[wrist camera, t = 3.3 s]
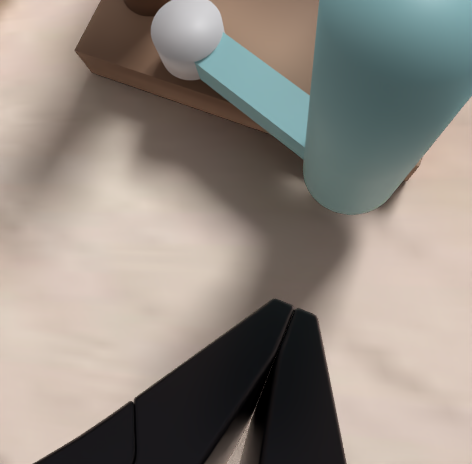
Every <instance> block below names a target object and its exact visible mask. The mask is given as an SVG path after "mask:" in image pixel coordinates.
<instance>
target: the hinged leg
mask: <svg viewBox="0 0 472 464" xmlns="http://www.w3.org/2000/svg"><path fill="white" fill-rule="evenodd" d="M151 38H152V41H153V43H154V46H155V48H156V50H157V52H158V54H159V56H160V58H161V60H162V62H163V64H164V66H165V68H166V69H167V70H168V71H169V72H170V73H171V74H172V75H174V76H175V77H177V78H180V79H183V80H199V79H201V80H202V81H203V82H205V83H206V84H207V85H208V86H210V87H211V88H212V89H214V90H215V91H216V92H217V93H219V94H220V95H221V96H223V97H224V98H225V99H226V100H228V101H229V102H230V103H232V104H233V105H234V106H235V107H237V108H238V109H239V110H241V111H242V112H243V113H244V114H246V115H247V116H248V117H249V118H251V119H252V120H253V121H255V122H256V123H257V124H258V125H260V126H261V127H262V128H264V129H265V130H266V131H267V132H269V133H270V134H271V135H273V136H274V137H275V138H276V139H278V140H279V141H280V142H282V143H283V144H284V145H285V146H287V147H288V148H289V149H290V150H292V151H293V152H294V153H296V154H297V155H298V156H299V157H301V158H302V159H303V160H304V162H303V176H304V181H305V184H306V186H307V189H308V190H309V192H310V194H311V195H312V196H313V198H314V199H315V200H316V201H317V202H318V203H320V204H321V205H322V206H324V207H325V208H327V209H329V210H331V211H334V212H336V213H341V214H347V215H357V214H363V213H367V212H370V211H372V210H374V209H376V208H378V207H380V206H381V205H382V204H384V203H385V202H386V201H387V200H388V199H389V198H390V196H391V195H392V194H393V193H394V191H395V190H396V189H397V188H398V186H399V185H400V184H401V183H402V182H403V180H404V179H405V178H406V177H407V175H408V174H409V173H410V172H411V170H412V169H413V168H414V167H415V165H416V164H417V163H418V162H419V160H420V159H421V158H422V157H423V155H424V154H425V153H426V152H427V151H428V149H429V148H430V147H431V146H432V144H433V143H434V142H435V141H436V139H437V138H438V137H439V136H440V134H441V133H442V132H443V131H444V129H445V128H446V127H447V126H448V124H449V123H450V122H451V121H452V120H453V118H454V117H455V116H456V115H457V113H458V112H459V111H460V110H461V108H462V107H463V106H464V105H465V103H466V102H467V101H468V100H469V98H470V97H471V96H472V0H319V7H318V17H317V28H316V38H315V48H314V59H313V69H312V79H311V90H310V95H308V94H307V93H305V92H304V91H303V90H301V89H300V88H299V87H297V86H296V85H295V84H293V83H292V82H290V81H289V80H288V79H286V78H285V77H284V76H282V75H281V74H280V73H278V72H277V71H275V70H274V69H273V68H271V67H270V66H269V65H267V64H266V63H265V62H263V61H262V60H260V59H259V58H258V57H256V56H255V55H254V54H252V53H251V52H250V51H248V50H247V49H246V48H244V47H243V46H241V45H240V44H239V43H237V42H236V41H235V40H233V39H232V38H231V37H229V36H228V35H226V34H225V31H224V26H223V22H222V17H221V14H220V12H219V10H218V9H217V7H216V6H215V5H214V4H213V3H212V2H211V1H209V0H171V1H169V2H168V3H166V4H165V5H164V6H162V7H161V8H160V10H159V11H158V12H157V13H156V15H155V17H154V19H153V21H152V25H151Z"/></svg>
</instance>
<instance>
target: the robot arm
mask: <svg viewBox="0 0 472 464" xmlns="http://www.w3.org/2000/svg"><path fill="white" fill-rule="evenodd" d="M292 314H293V315H292ZM290 319H291V320H290ZM288 324H289V325H288ZM277 352H278V353H277ZM275 357H276V358H275ZM273 362H274V363H273ZM271 367H272V368H271ZM269 372H270V373H269ZM267 377H268V378H267ZM265 382H266V383H265ZM263 387H264V388H263ZM261 392H262V393H261ZM259 397H260V398H259ZM258 400H259V401H258ZM257 402H258V403H257ZM256 405H257V406H256ZM255 407H256V408H255ZM254 410H255V411H254ZM253 412H254V414H253ZM252 414H253V417H252V419H251V416H252ZM250 419H251V423H250V426H249V430H248V433H247V437H246V441H245V445H244V449H243V453H242V456H241V460H240V464H346V458H345V453H344V448H343V443H342V438H341V433H340V428H339V423H338V418H337V413H336V408H335V403H334V398H333V393H332V387H331V382H330V377H329V372H328V367H327V362H326V357H325V352H324V347H323V342H322V337H321V332H320V327H319V322H318V318H317V316H316V315H314V314H312V313H310V312H307V311H305V310H303V309H300V308H296V309H295V310H294V307H293V305H291V304H288V303H286V302H284V301H281V300H279V299H272V300H270V301H269V302H268V303H266V304H265V305H263V306H262V307H261V308H259V309H258V310H257V311H255V312H254V313H252V314H251V315H250V316H248V317H247V318H245V319H244V320H243V321H241V322H240V323H238V324H237V325H236V326H234V327H233V328H231V329H230V330H229V331H227V332H226V333H224V334H223V335H222V336H220V337H219V338H218V339H216V340H215V341H213V342H212V343H211V344H209V345H208V346H206V347H205V348H204V349H202V350H201V351H199V352H198V353H197V354H195V355H194V356H192V357H191V358H190V359H188V360H187V361H185V362H184V363H183V364H181V365H180V366H178V367H177V368H176V369H174V370H173V371H172V372H170V373H169V374H167V375H166V376H165V377H163V378H162V379H160V380H159V381H158V382H156V383H155V384H153V385H152V386H151V387H149V388H148V389H146V390H145V391H144V392H142V393H141V394H139V395H138V396H137V397H135V398H134V403H133V402H132V401H129V402H128V403H127V404H125V405H124V406H122V407H121V408H120V409H118V410H117V411H115V412H114V413H113V414H111V415H110V416H108V417H107V418H105V419H104V420H102V421H101V422H99V423H98V424H96V425H95V426H94V427H92V428H91V429H89V430H88V431H86V432H85V433H83V434H82V435H80V436H79V437H77V438H75V439H74V440H72V441H70V442H69V443H67V444H65V445H64V446H62V447H60V448H59V449H57V450H55V451H54V452H52V453H50V454H49V455H47V456H45V457H44V458H42V459H40V460H38V461H37V462H35V463H33V464H226V463H227V461H228V460H229V458H230V456H231V454H232V452H233V450H234V449H235V447H236V445H237V443H238V441H239V440H240V438H241V436H242V434H243V432H244V430H245V428H246V427H247V425H248V423H249V421H250Z"/></svg>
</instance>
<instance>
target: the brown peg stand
mask: <svg viewBox="0 0 472 464" xmlns="http://www.w3.org/2000/svg"><path fill="white" fill-rule="evenodd" d="M169 1H171V0H101V1H100V3H99V5H98V7H97V9H96V11H95V13H94V15H93V16H92V18H91V20H90V22H89V24H88V26H87V28H86V30H85V32H84V33H83V35H82V37H81V39H80V41H79V43H78V45H77V47H76V49H75V51H76V53H77V54H78V55H79V57H80V58H81V59H82V60H83V62H84V63H85V64H86V66H87V67H88V68H89V69H90V71H91V72H92V73H95V74H98V75H100V76H103V77H106V78H109V79H112V80H115V81H118V82H121V83H124V84H127V85H129V86H132V87H135V88H138V89H141V90H144V91H147V92H150V93H153V94H155V95H158V96H161V97H164V98H167V99H170V100H173V101H176V102H179V103H181V104H184V105H187V106H190V107H193V108H196V109H199V110H202V111H205V112H207V113H210V114H213V115H216V116H219V117H222V118H225V119H228V120H231V121H234V122H236V123H239V124H242V125H245V126H248V127H251V128H254V129H257V130H260V131H262V132H265V133H268V134H270V133H269V132H267V131H266V130H265V129H264V128H262V127H261V126H260V125H258V124H257V123H256V122H255V121H253V120H252V119H251V118H249V117H248V116H247V115H246V114H244V113H243V112H242V111H241V110H239V109H238V108H237V107H235V106H234V105H233V104H232V103H230V102H229V101H228V100H226V99H225V98H224V97H223V96H221V95H220V94H219V93H217V92H216V91H215V90H214V89H212V88H211V87H210V86H208V85H207V84H206V83H205V82H203V81H202V80H201V79H199V80H183V79H180V78H177V77H175V76H174V75H172V74H171V73H170V72H169V71H168V70H167V69H166V68H165V66H164V64H163V62H162V60H161V58H160V56H159V54H158V52H157V50H156V48H155V46H154V43H153V41H152V38H151V25H152V21H153V19H154V17H155V15H156V13H157V12H158V11H159V10H160V8H161V7H162V6H164V5H165V4H166V3H168V2H169ZM209 1H211V2H212V3H213V4H214V5H215V6H216V7H217V9H218V10H219V12H220V14H221V17H222V22H223V26H224V31H225V34H226V35H228V36H229V37H231V38H232V39H233V40H235V41H236V42H237V43H239V44H240V45H241V46H243V47H244V48H246V49H247V50H248V51H250V52H251V53H252V54H254V55H255V56H256V57H258V58H259V59H260V60H262V61H263V62H265V63H266V64H267V65H269V66H270V67H271V68H273V69H274V70H275V71H277V72H278V73H280V74H281V75H282V76H284V77H285V78H286V79H288V80H289V81H290V82H292V83H293V84H295V85H296V86H297V87H299V88H300V89H301V90H303V91H304V92H305V93H307V94H308V95H310V90H311V79H312V69H313V59H314V48H315V38H316V28H317V17H318V7H319V0H209ZM421 160H422V158H421V159H420V160H419V162H418V163H417V164H416V165H415V167H414V168H413V169H412V170H411V172H410V173H409V174H408V175H407V177H406V178H405V179H404V181H407V180H408V179H409V178H410V177H411V176H412V174H413V173H414V172H415V171H416V170H417V168H418V167H419V165H420V163H421Z"/></svg>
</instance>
